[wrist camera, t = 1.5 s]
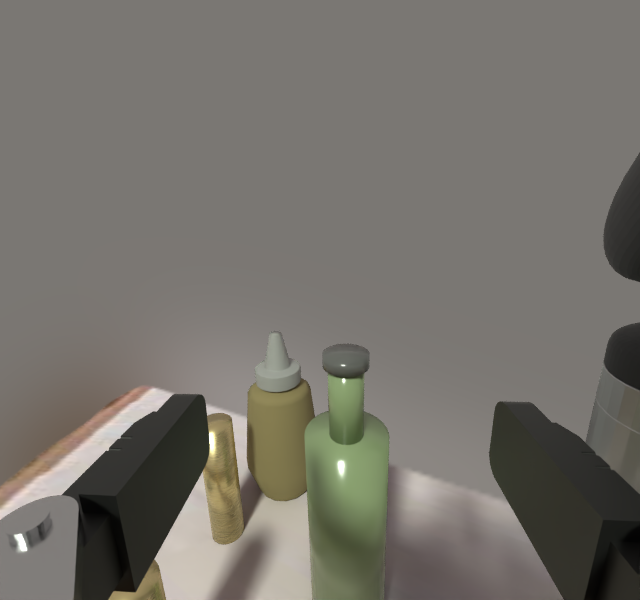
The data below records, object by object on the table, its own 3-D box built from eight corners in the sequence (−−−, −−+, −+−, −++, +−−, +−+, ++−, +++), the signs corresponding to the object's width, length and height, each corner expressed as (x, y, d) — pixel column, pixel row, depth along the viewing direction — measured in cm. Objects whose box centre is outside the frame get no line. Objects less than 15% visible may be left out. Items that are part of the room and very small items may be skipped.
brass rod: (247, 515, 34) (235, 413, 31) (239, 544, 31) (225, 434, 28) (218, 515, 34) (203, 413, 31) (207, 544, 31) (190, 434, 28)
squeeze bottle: (252, 458, 42) (238, 322, 37) (317, 452, 42) (312, 317, 37) (246, 516, 34) (227, 353, 29) (325, 507, 35) (320, 346, 30)
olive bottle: (378, 573, 28) (384, 335, 22) (388, 655, 23) (400, 375, 17) (314, 572, 29) (304, 336, 23) (310, 653, 23) (296, 376, 17)
